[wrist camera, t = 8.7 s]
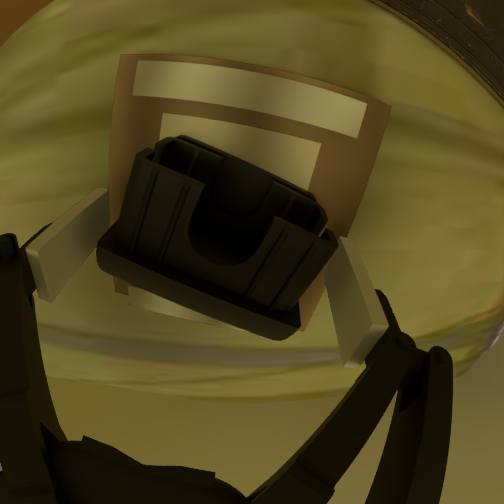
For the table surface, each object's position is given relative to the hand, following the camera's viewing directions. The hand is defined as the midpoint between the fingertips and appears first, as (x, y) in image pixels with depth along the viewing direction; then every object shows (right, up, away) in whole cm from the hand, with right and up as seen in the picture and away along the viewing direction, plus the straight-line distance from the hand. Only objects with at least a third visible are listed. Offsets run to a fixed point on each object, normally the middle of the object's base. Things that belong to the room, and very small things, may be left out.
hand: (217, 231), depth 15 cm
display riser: (0, +3, +4) cm, 5 cm away
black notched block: (0, +1, +2) cm, 3 cm away
